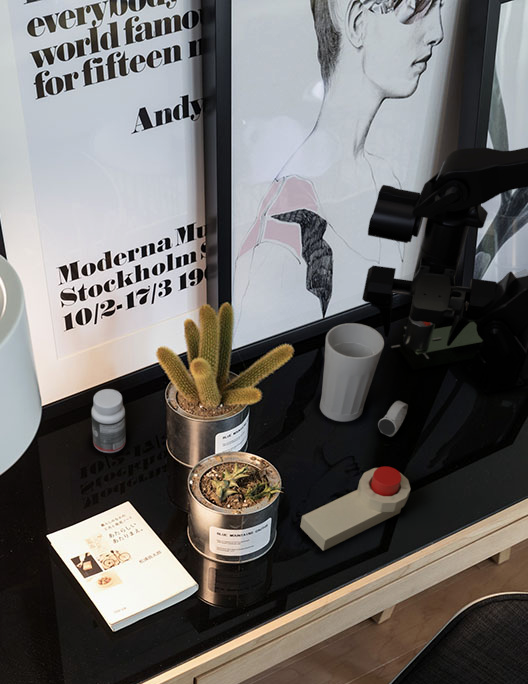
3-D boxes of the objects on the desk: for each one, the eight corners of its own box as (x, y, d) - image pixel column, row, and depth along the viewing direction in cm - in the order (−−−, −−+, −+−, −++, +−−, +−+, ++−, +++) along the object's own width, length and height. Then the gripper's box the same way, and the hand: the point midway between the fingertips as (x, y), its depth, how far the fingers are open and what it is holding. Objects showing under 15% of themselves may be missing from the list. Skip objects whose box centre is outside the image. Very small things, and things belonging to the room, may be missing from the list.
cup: (366, 391, 143) (382, 324, 133) (369, 426, 138) (386, 359, 128) (313, 388, 143) (325, 321, 134) (314, 424, 139) (326, 357, 129)
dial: (398, 337, 146) (405, 310, 142) (422, 332, 146) (429, 306, 143) (409, 353, 143) (416, 326, 140) (434, 348, 144) (441, 321, 140)
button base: (382, 482, 131) (388, 461, 128) (413, 511, 127) (420, 490, 124) (296, 523, 127) (300, 502, 123) (326, 554, 123) (331, 534, 120)
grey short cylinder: (374, 437, 137) (380, 410, 133) (390, 418, 139) (397, 392, 135) (392, 445, 135) (399, 419, 131) (408, 426, 138) (416, 399, 134)
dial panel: (464, 331, 151) (469, 314, 149) (488, 362, 146) (494, 345, 144) (376, 347, 149) (380, 331, 147) (398, 380, 144) (402, 363, 142)
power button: (386, 473, 127) (389, 462, 125) (404, 490, 125) (407, 479, 123) (365, 483, 126) (367, 472, 124) (382, 500, 124) (385, 489, 122)
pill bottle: (93, 432, 138) (90, 386, 132) (125, 431, 138) (124, 386, 132) (93, 454, 136) (90, 409, 129) (125, 453, 136) (124, 408, 129)
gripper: (367, 270, 129) (349, 363, 141) (509, 289, 126) (477, 382, 138) (376, 227, 136) (358, 319, 148) (511, 243, 132) (481, 336, 145)
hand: (417, 339), depth 144 cm, fingers open, 9 cm apart
